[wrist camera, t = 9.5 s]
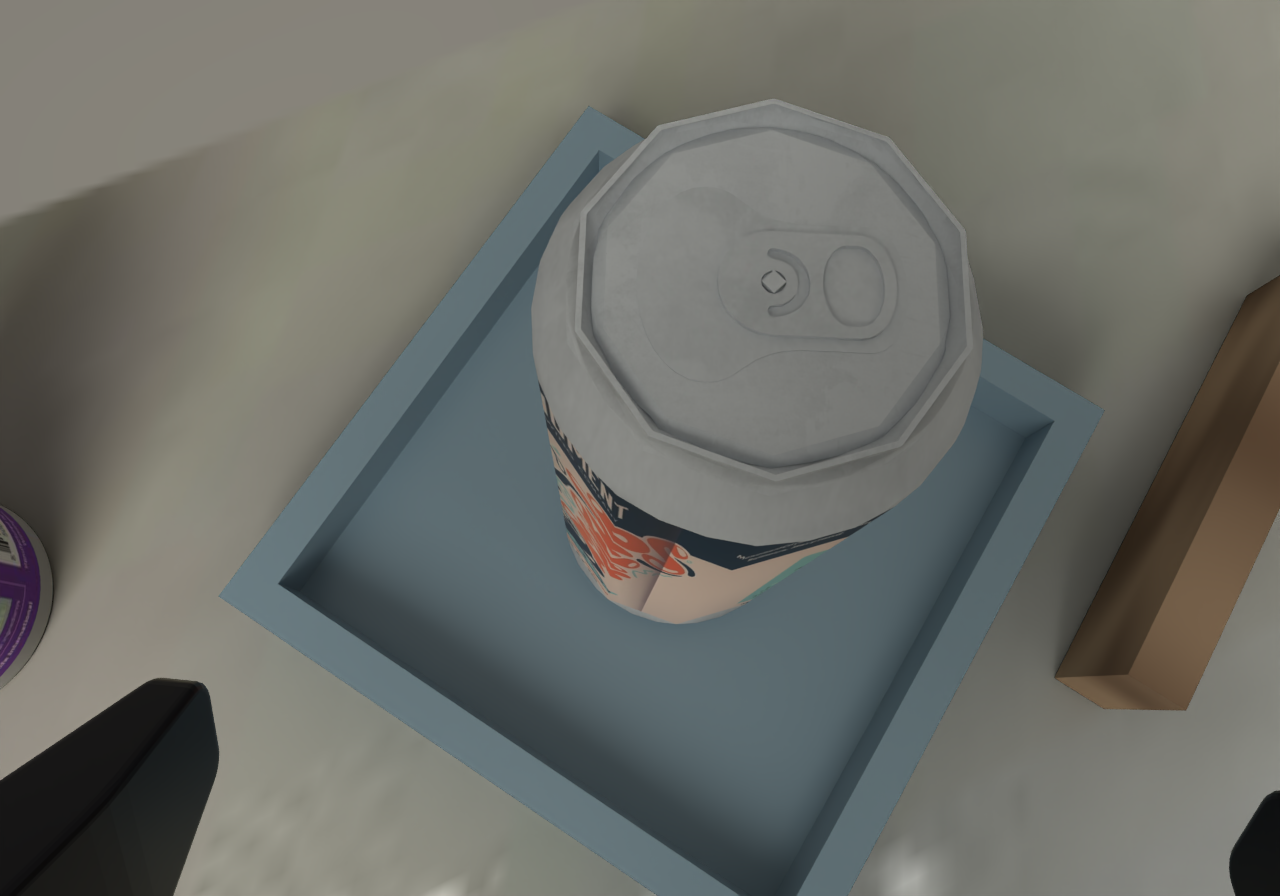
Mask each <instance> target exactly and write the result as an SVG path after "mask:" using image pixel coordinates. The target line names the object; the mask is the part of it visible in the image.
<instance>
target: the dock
mask: <svg viewBox="0 0 1280 896" xmlns="http://www.w3.org/2000/svg"><path fill="white" fill-rule="evenodd" d="M1279 509H1280V275H1279V276H1278V277H1276V278H1275V279H1273V280H1271V281H1270V282H1268V283H1267V284H1265V285H1263V286H1262V287H1260V288H1258V289H1257V290H1255V291H1254V292H1252V293H1250V294H1249V295H1247V297H1246V299H1245V301H1244V303H1243V305H1242V307H1241V309H1240V311H1239V313H1238V315H1237V317H1236V319H1235V321H1234V323H1233V325H1232V327H1231V329H1230V331H1229V333H1228V335H1227V337H1226V339H1225V341H1224V343H1223V344H1222V346H1221V348H1220V350H1219V352H1218V354H1217V356H1216V358H1215V360H1214V362H1213V364H1212V366H1211V368H1210V370H1209V372H1208V374H1207V376H1206V378H1205V380H1204V382H1203V384H1202V386H1201V388H1200V390H1199V392H1198V394H1197V396H1196V398H1195V400H1194V402H1193V404H1192V406H1191V408H1190V410H1189V412H1188V414H1187V416H1186V418H1185V420H1184V422H1183V424H1182V426H1181V428H1180V430H1179V432H1178V434H1177V436H1176V438H1175V440H1174V442H1173V444H1172V446H1171V448H1170V450H1169V452H1168V454H1167V456H1166V458H1165V460H1164V462H1163V464H1162V465H1161V467H1160V469H1159V471H1158V473H1157V475H1156V477H1155V479H1154V481H1153V483H1152V485H1151V487H1150V489H1149V491H1148V493H1147V495H1146V497H1145V499H1144V501H1143V503H1142V505H1141V507H1140V509H1139V511H1138V513H1137V515H1136V517H1135V519H1134V521H1133V523H1132V525H1131V527H1130V529H1129V531H1128V533H1127V535H1126V537H1125V539H1124V541H1123V543H1122V545H1121V547H1120V549H1119V551H1118V553H1117V555H1116V557H1115V559H1114V561H1113V563H1112V565H1111V567H1110V569H1109V571H1108V573H1107V575H1106V577H1105V579H1104V581H1103V583H1102V585H1101V586H1100V588H1099V590H1098V592H1097V594H1096V596H1095V598H1094V600H1093V602H1092V604H1091V606H1090V608H1089V610H1088V612H1087V614H1086V616H1085V618H1084V620H1083V622H1082V624H1081V626H1080V628H1079V630H1078V632H1077V634H1076V636H1075V638H1074V640H1073V642H1072V644H1071V646H1070V648H1069V650H1068V652H1067V654H1066V656H1065V658H1064V660H1063V662H1062V664H1061V666H1060V668H1059V670H1058V672H1057V674H1056V676H1055V679H1057V680H1059V681H1060V682H1062V683H1063V684H1065V685H1067V686H1068V687H1070V688H1071V689H1073V690H1075V691H1076V692H1078V693H1079V694H1081V695H1083V696H1084V697H1086V698H1087V699H1089V700H1091V701H1092V702H1094V703H1095V704H1097V705H1099V706H1100V707H1102V708H1103V709H1140V710H1186V709H1187V707H1188V705H1189V703H1190V701H1191V699H1192V697H1193V694H1194V692H1195V690H1196V688H1197V686H1198V684H1199V681H1200V679H1201V677H1202V675H1203V673H1204V671H1205V668H1206V666H1207V664H1208V662H1209V660H1210V658H1211V655H1212V653H1213V651H1214V649H1215V647H1216V645H1217V643H1218V640H1219V638H1220V636H1221V634H1222V632H1223V630H1224V627H1225V625H1226V623H1227V621H1228V619H1229V617H1230V614H1231V612H1232V610H1233V608H1234V606H1235V604H1236V601H1237V599H1238V597H1239V595H1240V593H1241V591H1242V589H1243V586H1244V584H1245V582H1246V580H1247V578H1248V576H1249V573H1250V571H1251V569H1252V567H1253V565H1254V563H1255V560H1256V558H1257V556H1258V554H1259V552H1260V550H1261V548H1262V545H1263V543H1264V541H1265V539H1266V537H1267V535H1268V532H1269V530H1270V528H1271V526H1272V524H1273V522H1274V519H1275V517H1276V515H1277V513H1278V511H1279Z"/></svg>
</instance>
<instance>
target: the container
mask: <svg viewBox="0 0 1280 896" xmlns="http://www.w3.org/2000/svg"><path fill="white" fill-rule="evenodd" d="M52 596H53V580H52V572H51V567H50V563H49V560H48V557H47V554H46V551H45V549H44V547H43V545H42V543H41V541H40V540H39V538H38V537H37V535H36V534H35V532H34V531H33V530H32V529H31V527H30V526H29V525H28V524H27V523H26V522H25V521H24V520H23V519H21V518H20V517H19V516H18V515H16V514H15V513H14V512H12V511H10V510H9V509H7V508H5V507H3V506H1V505H0V689H1V688H2V687H3V686H5V685H6V684H7V683H8V682H9V681H10V680H11V679H12V678H13V677H14V676H15V675H16V674H17V673H18V672H19V671H20V670H21V668H22V667H23V666H24V665H25V664H26V662H27V661H28V660H29V658H30V657H31V655H32V654H33V652H34V650H35V649H36V647H37V645H38V643H39V641H40V639H41V637H42V635H43V633H44V630H45V628H46V625H47V622H48V618H49V615H50V611H51V605H52Z"/></svg>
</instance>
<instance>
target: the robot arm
mask: <svg viewBox="0 0 1280 896" xmlns="http://www.w3.org/2000/svg"><path fill="white" fill-rule="evenodd" d="M218 763H219V747H218V741H217V735H216V729H215V723H214V717H213V712H212V706H211V700H210V695H209V692H208V689H207V688H206V686H205V685H204V684H203V683H200V682H198V681H188V680H179V679H169V678H156V679H153V680H150V681H148V682H146V683H144V684H143V685H141V686H140V687H138V688H137V689H135V690H134V691H132V692H131V693H129V694H128V695H126V696H125V697H123V698H122V699H120V700H119V701H117V702H116V703H114V704H113V705H111V706H110V707H109V708H107V709H106V710H104V711H103V712H101V713H100V714H98V715H97V716H95V717H94V718H92V719H91V720H89V721H88V722H86V723H85V724H83V725H82V726H80V727H79V728H77V729H76V730H74V731H73V732H71V733H70V734H68V735H67V736H66V737H64V738H63V739H61V740H60V741H58V742H57V743H55V744H54V745H52V746H51V747H49V748H48V749H46V750H45V751H43V752H42V753H40V754H39V755H37V756H36V757H34V758H33V759H31V760H30V761H28V762H27V763H25V764H24V765H23V766H21V767H20V768H18V769H17V770H15V771H14V772H12V773H11V774H9V775H8V776H6V777H5V778H3V779H2V780H0V896H173V895H174V892H175V889H176V887H177V884H178V881H179V878H180V875H181V873H182V870H183V867H184V864H185V862H186V859H187V856H188V853H189V850H190V848H191V845H192V842H193V839H194V836H195V834H196V831H197V828H198V825H199V823H200V820H201V817H202V814H203V811H204V809H205V806H206V803H207V800H208V797H209V795H210V792H211V789H212V786H213V784H214V781H215V777H216V774H217V769H218ZM1229 870H1230V878H1231V883H1232V886H1233V889H1234V893H1235V896H1280V791H1274V792H1272V793H1271V794H1269V795H1267V796H1266V797H1265V798H1264V799H1263V801H1262V802H1261V804H1260V805H1259V807H1258V809H1257V810H1256V812H1255V813H1254V815H1253V817H1252V818H1251V820H1250V821H1249V823H1248V825H1247V826H1246V828H1245V829H1244V831H1243V833H1242V834H1241V836H1240V837H1239V839H1238V841H1237V842H1236V844H1235V845H1234V847H1233V849H1232V851H1231V855H1230V862H1229Z"/></svg>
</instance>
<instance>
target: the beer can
mask: <svg viewBox="0 0 1280 896" xmlns="http://www.w3.org/2000/svg"><path fill="white" fill-rule="evenodd" d="M531 315H532V344H533V357H534V362H535V367H536V372H537V377H538V383H539V388H540V393H541V399H542V404H543V409H544V414H545V420H546V425H547V430H548V436H549V441H550V446H551V452H552V457H553V462H554V468H555V473H556V478H557V483H558V489H559V494H560V499H561V505H562V510H563V515H564V521H565V526H566V531H567V536H568V541H569V544H570V546H571V549H572V551H573V553H574V555H575V558H576V560H577V562H578V564H579V566H580V567H581V569H582V570H583V571H584V573H585V574H586V575H587V577H588V578H589V579H590V581H591V582H592V583H593V585H594V586H595V587H596V589H597V590H598V591H600V592H601V593H602V594H603V595H604V596H605V597H606V598H607V599H608V600H610V601H611V602H613V603H615V604H616V605H618V606H620V607H621V608H623V609H625V610H626V611H628V612H630V613H632V614H634V615H637V616H640V617H643V618H646V619H649V620H652V621H655V622H662V623H670V624H690V623H698V622H702V621H706V620H710V619H714V618H718V617H721V616H723V615H725V614H727V613H729V612H731V611H733V610H735V609H737V608H739V607H741V606H743V605H745V604H746V603H748V602H749V601H751V600H752V599H754V598H755V597H757V596H758V595H760V594H762V593H763V592H765V591H766V590H768V589H769V588H771V587H772V586H774V585H775V584H777V583H778V582H780V581H781V580H783V579H785V578H786V577H788V576H789V575H791V574H792V573H794V572H795V571H797V570H798V569H800V568H801V567H803V566H804V565H806V564H808V563H809V562H811V561H812V560H814V559H815V558H817V557H818V556H820V555H821V554H823V553H824V552H826V551H827V550H829V549H831V548H832V547H834V546H835V545H837V544H838V543H840V542H841V541H843V540H844V539H846V538H847V537H849V536H850V535H852V534H854V533H855V532H857V531H858V530H860V529H861V528H863V527H864V526H866V525H867V524H869V523H870V522H872V521H873V520H875V519H877V518H878V517H880V516H881V515H883V514H884V513H886V512H887V511H889V510H890V509H892V508H893V507H895V506H896V505H897V504H898V503H900V502H901V501H902V500H903V499H905V498H906V497H907V496H908V495H909V494H911V493H912V492H913V491H914V490H915V489H917V488H918V487H919V486H920V485H921V484H922V483H923V482H924V480H925V479H926V478H927V477H928V475H929V474H930V473H931V472H932V470H933V469H934V468H935V467H936V465H937V464H938V463H939V461H940V460H941V459H942V458H943V456H944V455H945V454H946V453H947V451H948V450H949V449H950V448H951V446H952V445H953V444H954V443H955V441H956V439H957V437H958V435H959V433H960V431H961V430H962V428H963V426H964V424H965V421H966V418H967V415H968V412H969V409H970V406H971V403H972V400H973V397H974V394H975V391H976V387H977V383H978V380H979V376H980V372H981V364H982V345H983V326H982V320H981V315H980V309H979V304H978V298H977V292H976V287H975V281H974V277H973V274H972V271H971V267H970V264H969V261H968V256H967V239H966V230H965V229H964V228H963V226H962V225H961V224H960V223H959V221H958V220H957V219H956V218H955V217H954V215H953V214H952V213H951V212H950V210H949V209H948V208H947V207H946V206H945V204H944V203H943V202H942V201H941V199H940V198H939V197H938V196H937V195H936V193H935V192H934V191H933V190H932V188H931V187H930V186H929V185H928V184H927V182H926V181H925V180H924V179H923V177H922V176H921V175H920V174H919V173H918V171H917V170H916V169H915V168H914V166H913V165H912V164H911V163H910V162H909V160H908V159H907V158H906V157H905V155H904V154H903V153H902V152H901V151H900V149H899V148H898V147H897V146H896V144H895V143H894V142H893V141H892V140H891V138H890V137H887V136H884V135H881V134H878V133H875V132H873V131H870V130H867V129H864V128H861V127H858V126H855V125H852V124H849V123H846V122H843V121H840V120H837V119H834V118H831V117H828V116H825V115H822V114H819V113H816V112H813V111H810V110H807V109H805V108H802V107H799V106H796V105H793V104H790V103H787V102H784V101H781V100H778V99H775V98H773V99H768V100H764V101H760V102H755V103H751V104H747V105H743V106H738V107H734V108H730V109H725V110H721V111H717V112H713V113H708V114H704V115H700V116H695V117H691V118H687V119H683V120H678V121H674V122H670V123H666V124H661V125H658V126H657V127H656V128H655V129H654V130H653V131H652V132H651V133H650V135H649V136H648V137H647V138H646V139H644V140H642V141H641V142H639V143H637V144H636V145H634V146H632V147H631V148H630V149H628V150H627V151H625V152H624V153H623V154H621V155H620V156H618V157H617V158H616V159H614V160H613V161H611V162H610V163H609V164H607V165H606V166H604V167H603V168H602V169H601V171H600V172H599V173H598V174H597V175H596V176H595V177H594V178H593V179H592V180H591V182H590V183H589V184H588V185H587V186H586V187H585V188H584V189H583V190H582V191H581V193H580V194H579V195H578V196H577V197H576V198H575V199H574V200H573V201H572V202H571V204H570V205H569V206H568V207H567V209H566V210H565V211H564V213H563V214H562V215H561V217H560V219H559V221H558V223H557V225H556V227H555V230H554V232H553V234H552V236H551V238H550V240H549V243H548V245H547V247H546V249H545V251H544V253H543V256H542V258H541V260H540V264H539V269H538V275H537V280H536V285H535V291H534V296H533V301H532V307H531Z"/></svg>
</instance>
